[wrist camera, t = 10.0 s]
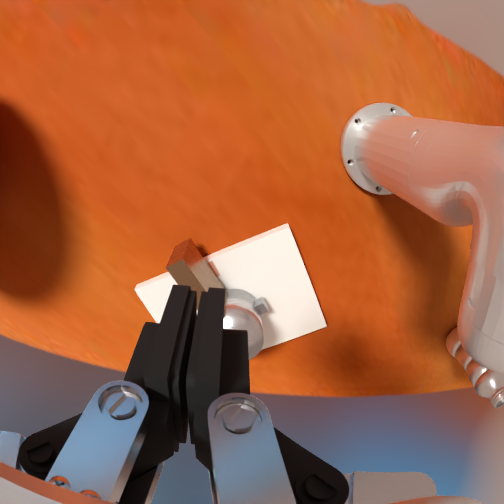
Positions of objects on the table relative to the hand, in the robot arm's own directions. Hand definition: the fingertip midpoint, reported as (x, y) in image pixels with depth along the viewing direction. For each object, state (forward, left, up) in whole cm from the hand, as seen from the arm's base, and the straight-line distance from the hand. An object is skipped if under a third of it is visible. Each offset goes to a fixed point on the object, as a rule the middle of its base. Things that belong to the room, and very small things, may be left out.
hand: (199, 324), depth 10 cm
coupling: (+8, +15, -30) cm, 34 cm away
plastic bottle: (-29, +46, -32) cm, 63 cm away
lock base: (+8, +19, -32) cm, 38 cm away
